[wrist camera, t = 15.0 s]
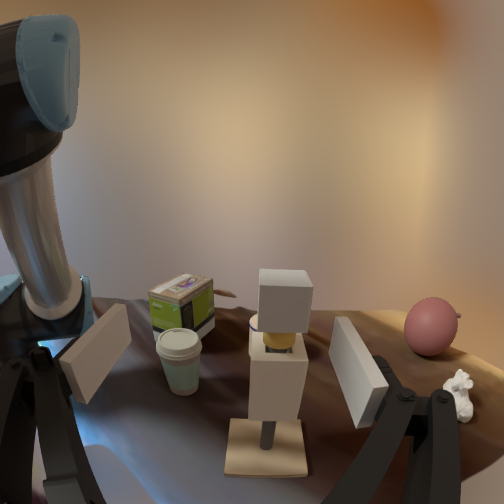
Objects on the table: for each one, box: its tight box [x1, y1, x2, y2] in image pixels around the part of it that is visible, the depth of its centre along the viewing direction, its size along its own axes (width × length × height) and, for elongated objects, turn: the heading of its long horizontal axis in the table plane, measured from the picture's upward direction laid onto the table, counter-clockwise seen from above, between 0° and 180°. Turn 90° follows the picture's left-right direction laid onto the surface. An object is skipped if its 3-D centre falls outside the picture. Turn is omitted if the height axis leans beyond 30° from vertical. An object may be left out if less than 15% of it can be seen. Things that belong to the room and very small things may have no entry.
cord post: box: [257, 269, 313, 450], centre depth 31 cm, size 5×5×28 cm
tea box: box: [148, 273, 215, 342], centre depth 67 cm, size 15×10×15 cm
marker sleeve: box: [248, 331, 309, 421], centre depth 31 cm, size 6×6×10 cm
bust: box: [443, 369, 474, 423], centre depth 35 cm, size 12×8×11 cm
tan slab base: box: [224, 418, 308, 478], centre depth 34 cm, size 12×12×1 cm
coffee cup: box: [156, 328, 202, 396], centre depth 47 cm, size 8×9×12 cm
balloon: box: [404, 297, 461, 356], centre depth 57 cm, size 15×20×15 cm
